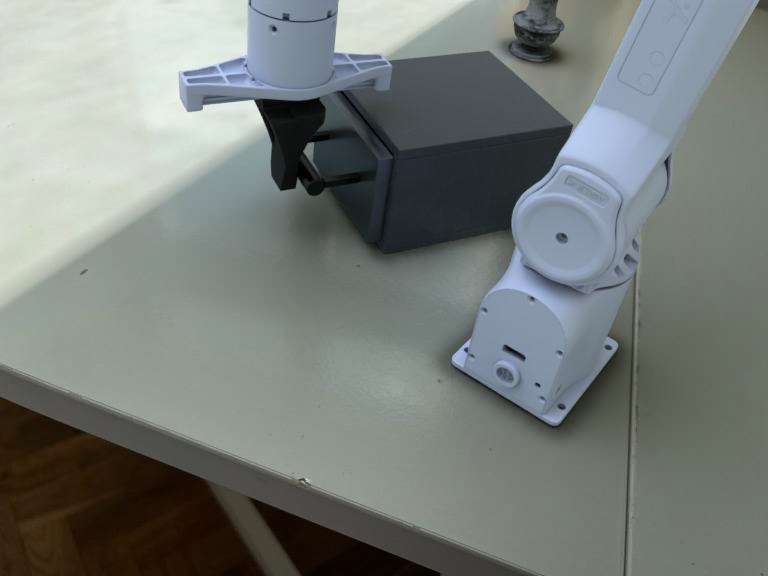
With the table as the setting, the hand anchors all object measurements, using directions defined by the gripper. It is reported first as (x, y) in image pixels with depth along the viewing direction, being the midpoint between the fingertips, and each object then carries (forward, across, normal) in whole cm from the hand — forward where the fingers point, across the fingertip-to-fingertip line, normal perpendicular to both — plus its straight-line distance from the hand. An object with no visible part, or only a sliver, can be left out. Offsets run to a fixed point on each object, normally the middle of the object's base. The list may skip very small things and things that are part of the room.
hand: (284, 182), depth 59 cm
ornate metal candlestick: (+3, -38, -22) cm, 44 cm away
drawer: (+2, -9, 0) cm, 10 cm away
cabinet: (+3, -13, 0) cm, 14 cm away
